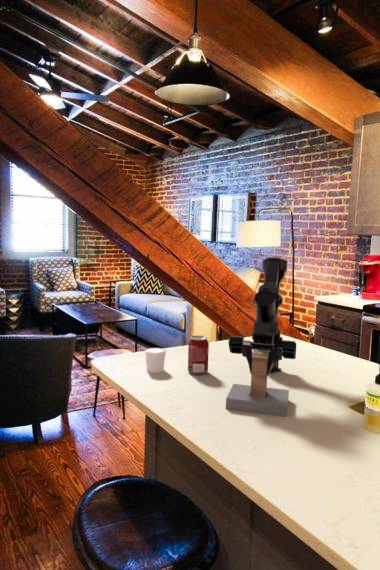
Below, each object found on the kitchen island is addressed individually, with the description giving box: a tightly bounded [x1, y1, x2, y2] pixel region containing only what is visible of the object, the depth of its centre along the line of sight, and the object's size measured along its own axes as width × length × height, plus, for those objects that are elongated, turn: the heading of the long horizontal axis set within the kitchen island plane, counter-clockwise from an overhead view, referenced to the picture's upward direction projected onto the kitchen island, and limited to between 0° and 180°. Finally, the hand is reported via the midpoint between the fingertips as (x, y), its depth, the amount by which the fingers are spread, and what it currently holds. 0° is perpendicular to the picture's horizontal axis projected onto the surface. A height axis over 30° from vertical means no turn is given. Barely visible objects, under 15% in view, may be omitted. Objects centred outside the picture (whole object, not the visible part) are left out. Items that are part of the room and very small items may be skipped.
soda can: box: [187, 335, 210, 376], centre depth 152 cm, size 7×7×12 cm
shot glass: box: [145, 347, 167, 374], centre depth 154 cm, size 7×7×7 cm
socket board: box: [225, 383, 290, 417], centre depth 126 cm, size 12×16×3 cm
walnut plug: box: [250, 349, 269, 398], centre depth 125 cm, size 4×4×12 cm
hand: (259, 374), depth 124 cm, fingers closed on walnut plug, 4 cm apart
